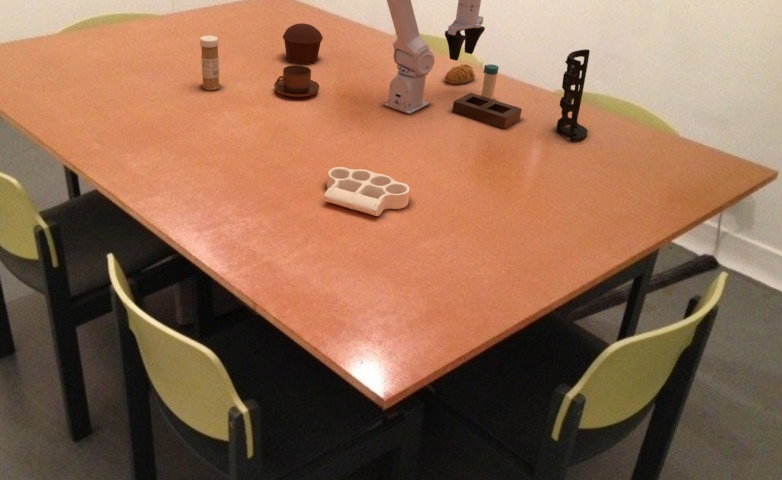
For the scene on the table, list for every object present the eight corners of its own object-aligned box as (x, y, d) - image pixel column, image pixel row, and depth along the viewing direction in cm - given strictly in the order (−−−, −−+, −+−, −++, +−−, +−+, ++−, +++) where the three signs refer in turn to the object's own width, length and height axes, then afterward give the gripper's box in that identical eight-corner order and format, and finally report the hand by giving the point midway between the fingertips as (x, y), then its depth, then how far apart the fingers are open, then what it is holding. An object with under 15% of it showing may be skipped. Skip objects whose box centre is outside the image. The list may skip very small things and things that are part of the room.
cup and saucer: (299, 104, 199) (300, 81, 195) (264, 92, 205) (264, 69, 201) (328, 92, 207) (329, 70, 204) (293, 81, 213) (294, 59, 209)
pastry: (458, 87, 215) (459, 74, 213) (438, 81, 219) (439, 68, 217) (476, 79, 221) (478, 66, 219) (456, 73, 225) (458, 60, 223)
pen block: (503, 129, 193) (506, 118, 191) (452, 112, 201) (453, 101, 199) (519, 119, 199) (522, 108, 197) (468, 103, 206) (470, 92, 205)
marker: (488, 103, 207) (494, 69, 202) (476, 99, 209) (481, 66, 204) (495, 99, 209) (501, 66, 204) (482, 95, 211) (488, 63, 206)
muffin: (276, 62, 224) (277, 27, 219) (289, 50, 233) (290, 17, 228) (315, 68, 222) (316, 33, 216) (327, 56, 231) (328, 23, 225)
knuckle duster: (309, 201, 157) (340, 173, 168) (390, 224, 151) (417, 194, 162) (309, 186, 156) (341, 159, 167) (392, 210, 150) (418, 180, 161)
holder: (588, 143, 188) (600, 62, 177) (556, 142, 189) (566, 61, 179) (585, 126, 197) (596, 48, 186) (555, 125, 198) (564, 47, 188)
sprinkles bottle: (213, 83, 208) (212, 33, 200) (223, 88, 205) (221, 38, 198) (199, 86, 206) (196, 36, 198) (208, 92, 203) (206, 41, 195)
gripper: (467, 12, 191) (459, 66, 199) (496, 2, 201) (487, 53, 209) (443, 6, 195) (436, 59, 202) (473, -4, 204) (465, 47, 212)
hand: (461, 56), depth 206 cm, fingers open, 7 cm apart
